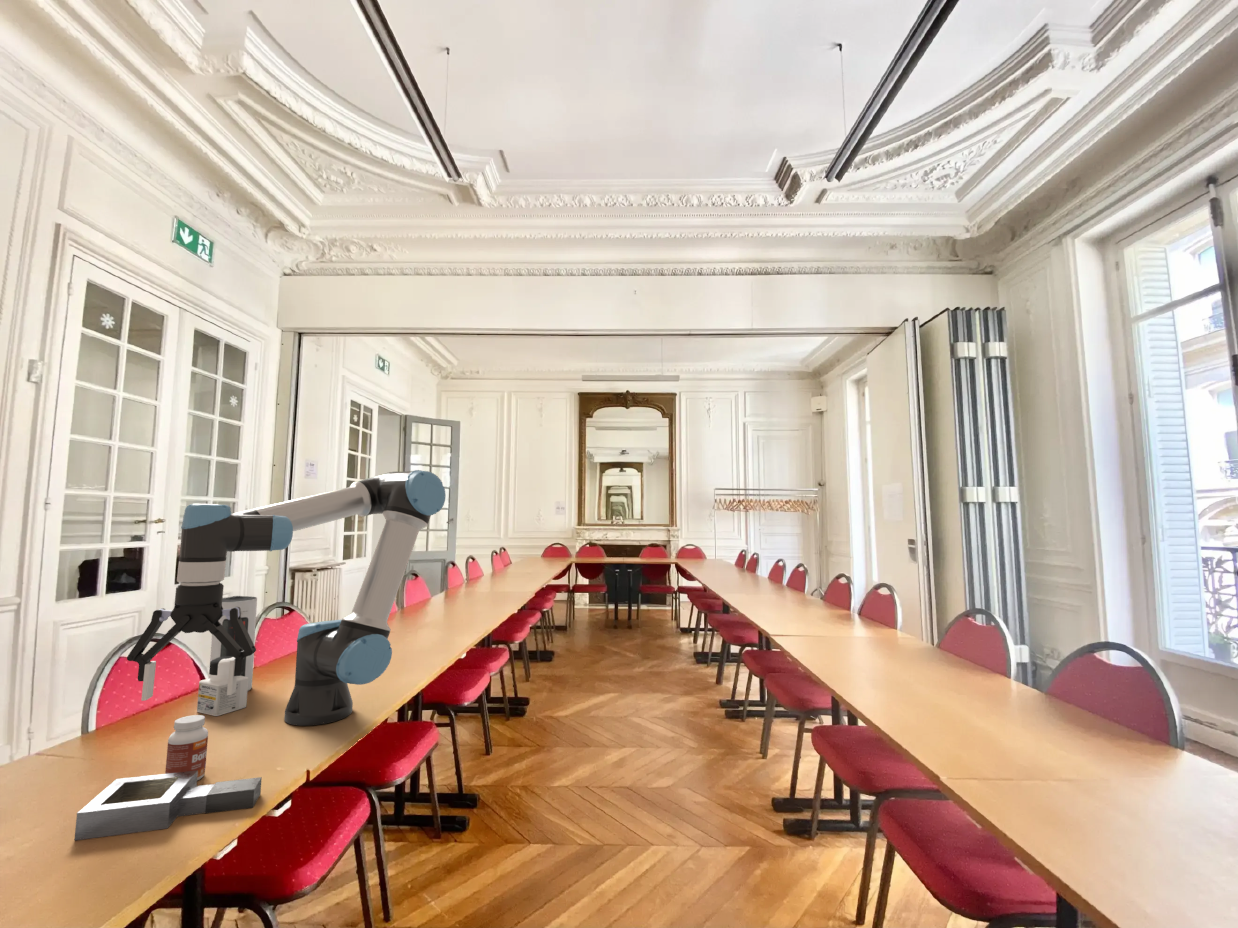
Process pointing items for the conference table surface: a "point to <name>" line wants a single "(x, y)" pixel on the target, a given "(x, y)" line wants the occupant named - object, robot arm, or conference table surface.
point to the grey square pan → (159, 803)
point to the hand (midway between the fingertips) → (189, 696)
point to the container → (221, 690)
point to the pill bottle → (187, 746)
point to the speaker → (249, 620)
